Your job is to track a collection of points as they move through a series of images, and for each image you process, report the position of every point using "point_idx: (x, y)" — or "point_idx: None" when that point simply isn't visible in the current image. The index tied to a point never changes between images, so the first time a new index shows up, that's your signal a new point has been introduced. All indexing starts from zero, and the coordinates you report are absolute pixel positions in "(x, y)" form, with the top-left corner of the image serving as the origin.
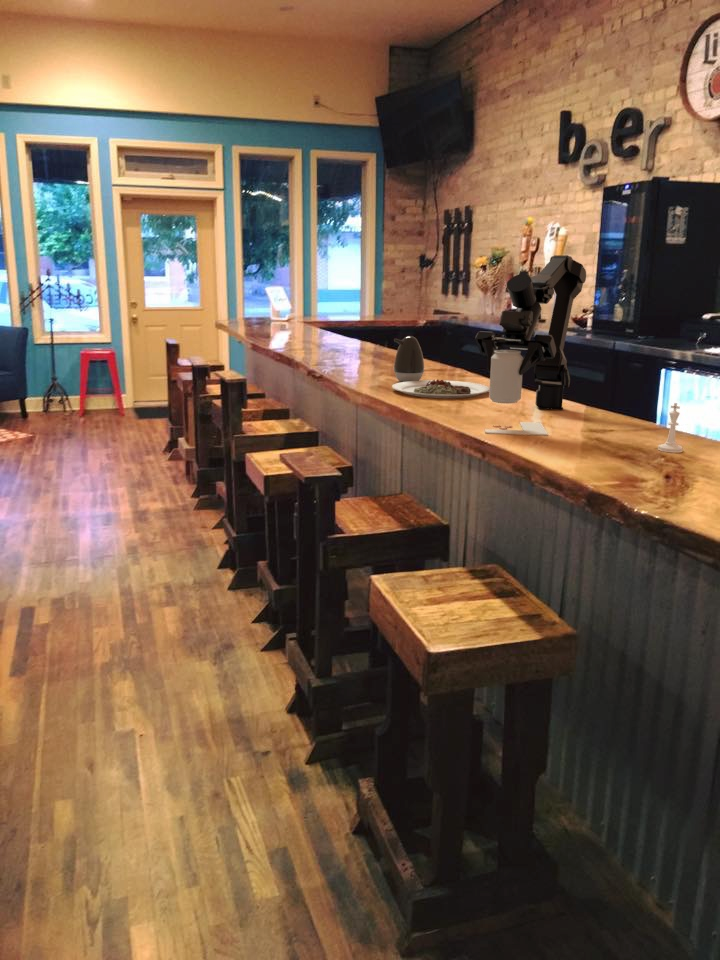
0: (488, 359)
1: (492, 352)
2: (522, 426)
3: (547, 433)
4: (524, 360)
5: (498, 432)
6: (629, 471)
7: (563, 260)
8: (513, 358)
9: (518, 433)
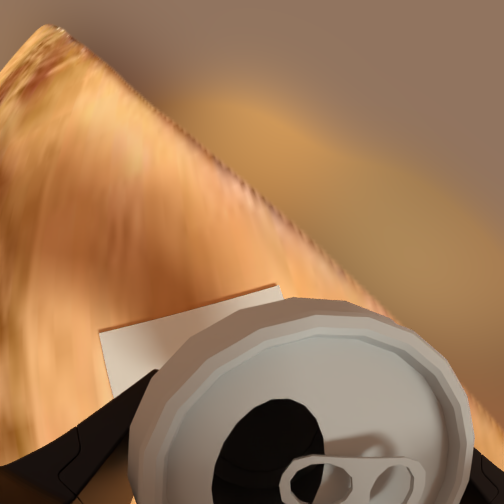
0: None
1: (478, 492)
2: None
3: (101, 344)
4: (111, 431)
5: (241, 297)
6: (17, 115)
7: None
8: (204, 337)
9: (181, 313)
